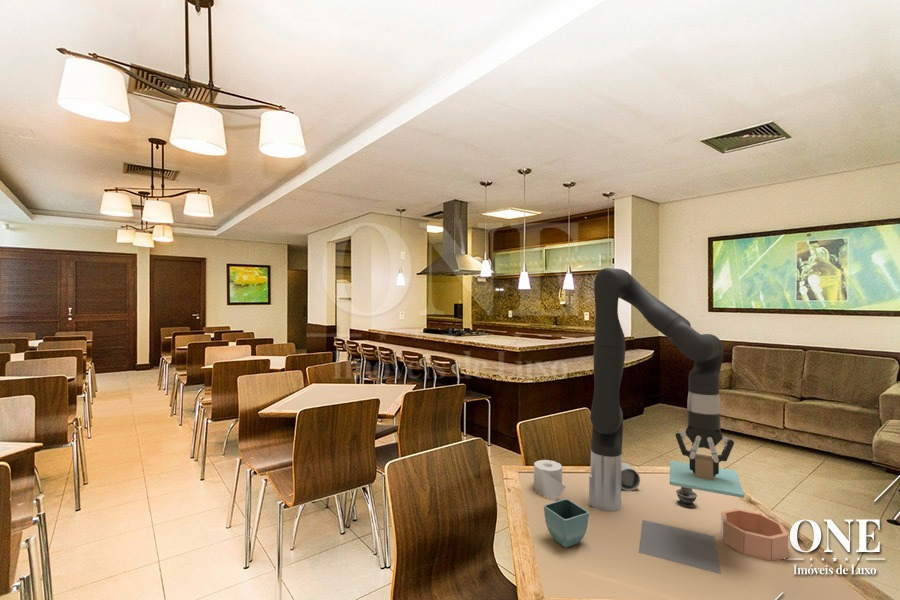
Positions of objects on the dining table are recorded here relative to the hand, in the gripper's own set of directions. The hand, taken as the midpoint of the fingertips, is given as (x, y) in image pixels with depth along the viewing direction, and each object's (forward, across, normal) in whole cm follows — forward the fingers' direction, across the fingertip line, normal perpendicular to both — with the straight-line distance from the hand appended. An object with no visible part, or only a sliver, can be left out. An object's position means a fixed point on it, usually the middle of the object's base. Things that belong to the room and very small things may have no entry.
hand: (703, 473), depth 113 cm
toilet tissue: (+19, +45, -11) cm, 50 cm away
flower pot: (+19, +33, +15) cm, 41 cm away
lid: (+2, 0, 0) cm, 2 cm away
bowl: (+20, -12, -7) cm, 24 cm away
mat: (+20, +6, +3) cm, 21 cm away
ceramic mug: (+20, +23, -28) cm, 42 cm away
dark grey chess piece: (+20, +4, -24) cm, 31 cm away
